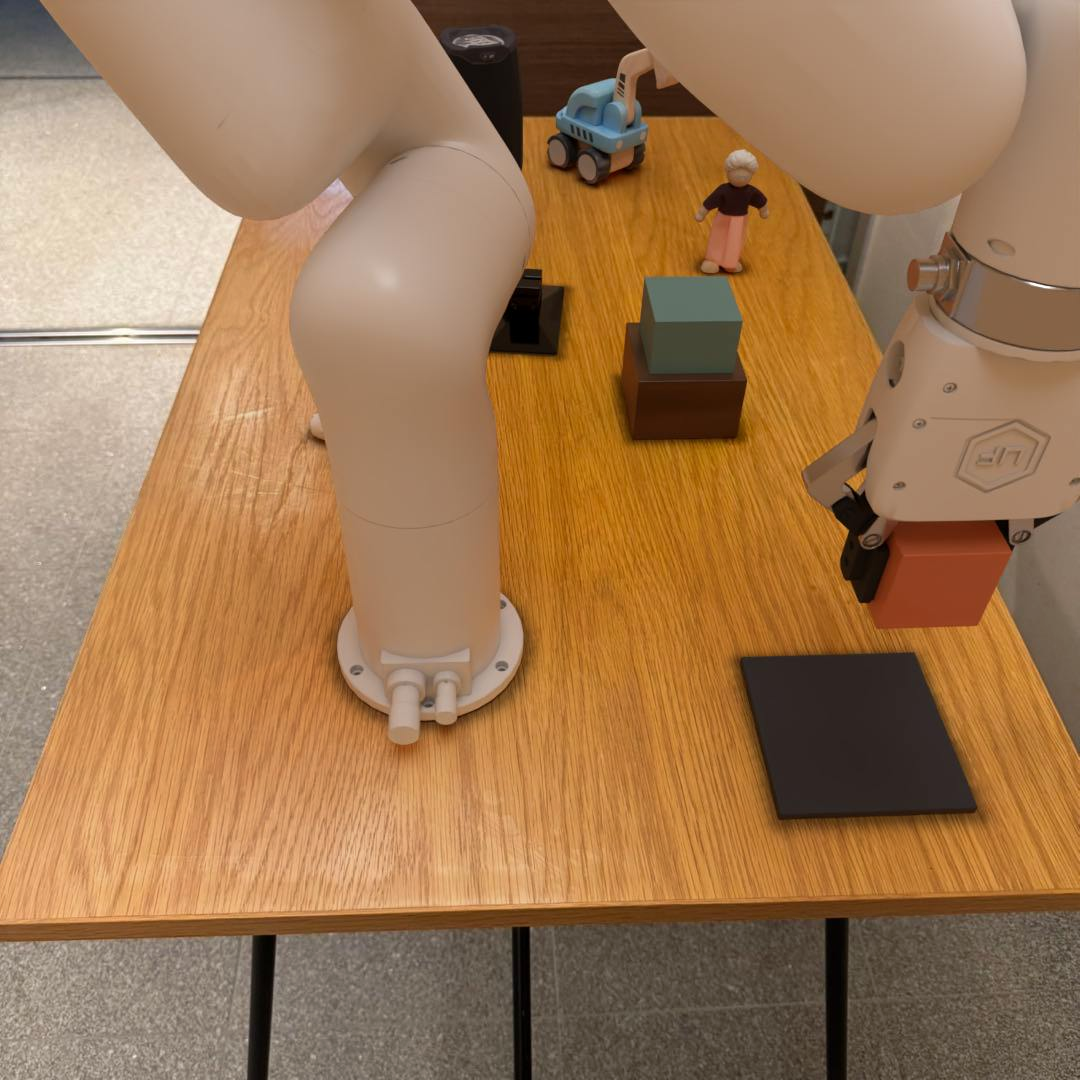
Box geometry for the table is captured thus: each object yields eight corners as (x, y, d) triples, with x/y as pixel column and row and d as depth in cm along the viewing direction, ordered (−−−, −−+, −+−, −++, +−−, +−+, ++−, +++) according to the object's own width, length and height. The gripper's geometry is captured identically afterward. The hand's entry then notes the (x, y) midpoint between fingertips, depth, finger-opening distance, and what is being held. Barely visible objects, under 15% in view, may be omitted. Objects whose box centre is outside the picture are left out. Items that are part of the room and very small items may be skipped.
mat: (975, 812, 60) (978, 807, 60) (778, 819, 59) (780, 814, 59) (912, 657, 69) (914, 651, 68) (739, 662, 68) (741, 656, 68)
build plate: (557, 357, 94) (558, 314, 91) (480, 353, 95) (479, 310, 91) (564, 288, 103) (566, 247, 100) (494, 285, 104) (493, 244, 100)
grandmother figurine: (699, 280, 105) (716, 161, 96) (685, 262, 108) (700, 146, 99) (765, 271, 107) (788, 154, 98) (750, 254, 109) (771, 138, 101)
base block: (736, 438, 86) (747, 380, 82) (632, 439, 85) (638, 381, 81) (717, 377, 92) (727, 321, 88) (621, 378, 92) (626, 322, 88)
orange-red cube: (977, 626, 53) (1013, 552, 49) (875, 629, 53) (903, 555, 49) (942, 553, 57) (972, 480, 53) (847, 556, 57) (871, 482, 53)
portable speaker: (427, 216, 114) (415, 33, 101) (488, 192, 119) (484, 14, 106) (477, 243, 110) (471, 55, 96) (538, 216, 115) (540, 34, 101)
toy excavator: (636, 208, 117) (650, 53, 105) (540, 162, 125) (543, 14, 114) (685, 187, 121) (703, 36, 109) (588, 144, 130) (596, 0, 118)
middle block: (733, 373, 82) (743, 320, 79) (649, 374, 82) (655, 321, 79) (718, 327, 87) (726, 275, 84) (639, 328, 87) (644, 276, 84)
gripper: (853, 336, 39) (772, 640, 51) (1281, 329, 39) (1098, 630, 52) (807, 243, 44) (744, 539, 57) (1184, 238, 45) (1039, 531, 57)
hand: (914, 580), depth 54 cm, fingers closed on orange-red cube, 5 cm apart
